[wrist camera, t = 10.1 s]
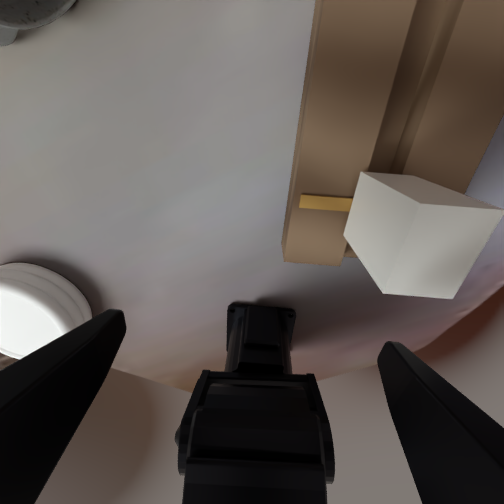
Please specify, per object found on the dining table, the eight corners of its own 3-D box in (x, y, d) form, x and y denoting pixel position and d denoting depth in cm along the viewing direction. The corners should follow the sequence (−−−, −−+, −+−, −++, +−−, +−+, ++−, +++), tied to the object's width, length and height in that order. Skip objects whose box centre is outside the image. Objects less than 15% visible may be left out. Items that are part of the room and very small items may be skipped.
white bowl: (106, 339, 27) (85, 367, 24) (19, 334, 27) (-12, 362, 24) (76, 262, 22) (45, 285, 19) (-29, 257, 22) (-76, 280, 19)
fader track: (403, 252, 20) (426, 274, 17) (281, 242, 20) (284, 263, 17) (598, -208, 10) (737, -344, 7) (347, -225, 10) (381, -365, 7)
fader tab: (379, 229, 17) (452, 299, 10) (337, 226, 17) (383, 293, 10) (400, 170, 15) (505, 210, 8) (352, 167, 15) (420, 203, 8)
